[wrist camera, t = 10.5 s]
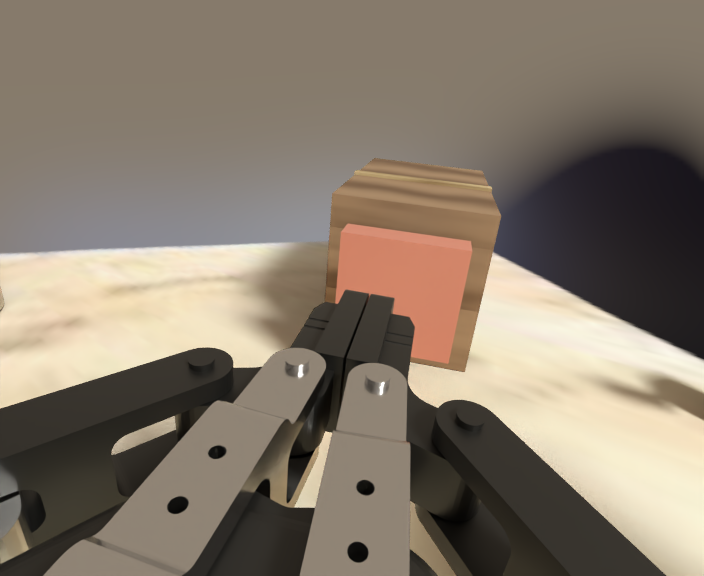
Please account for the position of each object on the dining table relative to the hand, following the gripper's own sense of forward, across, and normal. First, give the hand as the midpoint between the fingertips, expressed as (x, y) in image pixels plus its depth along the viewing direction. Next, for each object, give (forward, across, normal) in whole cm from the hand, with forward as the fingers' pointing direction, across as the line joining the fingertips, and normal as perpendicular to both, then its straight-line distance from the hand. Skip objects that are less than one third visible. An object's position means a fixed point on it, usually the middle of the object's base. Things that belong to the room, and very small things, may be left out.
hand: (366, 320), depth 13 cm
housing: (+29, 0, +14) cm, 33 cm away
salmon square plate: (+24, 0, +10) cm, 26 cm away
